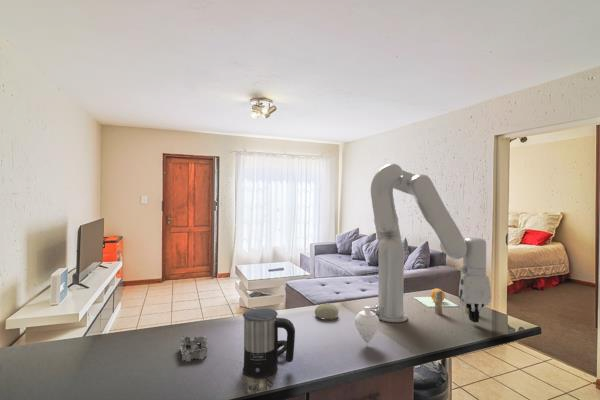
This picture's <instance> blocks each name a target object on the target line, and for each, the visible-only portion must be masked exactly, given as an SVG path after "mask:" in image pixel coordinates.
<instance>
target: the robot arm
mask: <svg viewBox="0 0 600 400" xmlns="http://www.w3.org/2000/svg"><path fill="white" fill-rule="evenodd" d="M394 190H397V191H400V192H403V193H405V194H408V195H410V196H411V195H412V197H413V198H414V200H415V202H416V204H417V207H418V208H419V210H420V212H421V214H422V216H423V218H424V220H425V221H426V222H427V224H429V225H430V226H431V228H432V229H433V231H434V232H435V234H436V235H437V238H438V240H439V241H440V242H439V249H440V250H441V251H442V253H444V255H446V256H447V257H449V258H450V259H453V260H461V259H462V268H459V271H460V272H461V273H462V274H461V275H460V280H459V286H458V299H459V305H461V306H463V307H465V306H466V307H467V308H468V309H469V314H468V320H469V321H471V322H473V323H480V312H481V311H482V309H483V307H485V306H489V304H490V303H491V301H492V288H491V282H490V277H489V275H487V241H486V239H484V238H480V237H463V234H462V233H461V231H460V228H459V227H458V226H457V224H456V222H455V221H454V219H453V217H452V216H451V214H450V212H449V211H448V209H447V207H446V205H445V204H444V202H443V199H442V198H441V195H440V194H439V192H438V190H437V188H436V187H435V185H434V183H433V181H432V179H431V178H430V177H429V175H427V174H421V173H420V174H416V173H412V172H409V171H406V170H403V168H402V167H401V166H400V165H398V164H396V163H387V164H385V165H384V166H383V167H381V168H380V169H379V170H378V171H377V172H376V173H375V174H374V176H373V178H372V181H371V184H370V198H371V206H372V211H373V222H374V226H375V231H376V237H377V243H378V267H377V268H378V271H377V272H378V273H377V274H378V275H377V277H378V282H377V283H378V284H377V285H378V286H377V287H378V288H377V289H378V290H377V291H378V294H377V295H378V297H377V299H378V300H377V302H378V303H375V305H373V306H370V305H368V306H369V307H370V311H371V312H374V313H375V314H376V315H377V317H378V318H379V321H383V322H387V323H403V322H406V321H407V320H408V314H407V313H406V312H404V284H405V283H404V281H405V279H404V278H405V276H404V275H405V273H404V272H405V271H404V270H405V269H404V265H405V246H404V243H403V241H402V237H401V231H400V225H399V217H398V214H397V212H396V211H397V210H396V205H395V199H394V198H395V197H394Z"/></svg>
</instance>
